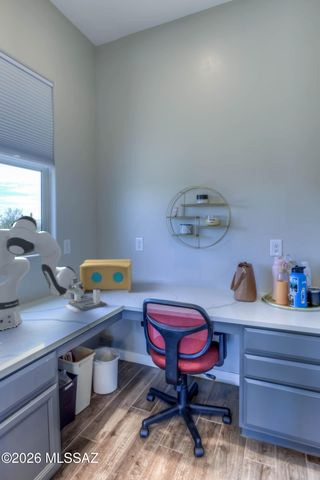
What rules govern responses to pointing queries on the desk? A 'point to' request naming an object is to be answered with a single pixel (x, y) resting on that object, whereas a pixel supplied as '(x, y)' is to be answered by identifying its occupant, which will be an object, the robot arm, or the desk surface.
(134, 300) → the desk surface
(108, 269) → the cardboard box
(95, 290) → the toggle front
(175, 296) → the desk surface
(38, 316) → the desk surface
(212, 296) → the desk surface
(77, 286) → the toggle rear
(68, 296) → the circuit breaker
